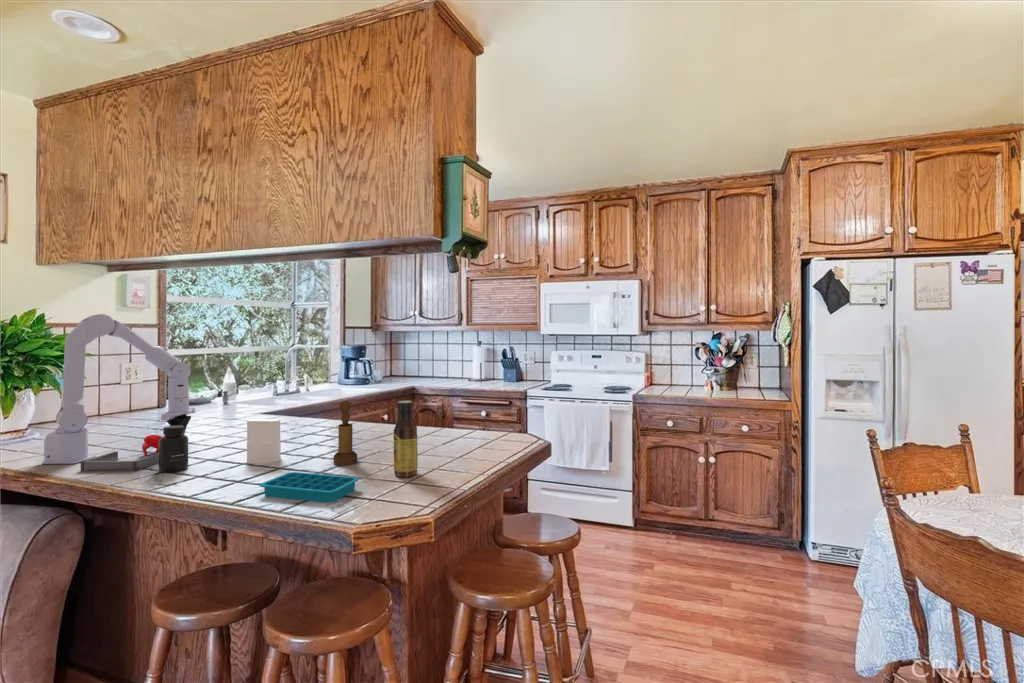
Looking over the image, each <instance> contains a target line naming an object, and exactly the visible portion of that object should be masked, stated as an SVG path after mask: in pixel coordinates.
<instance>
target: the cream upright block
mask: <svg viewBox="0 0 1024 683" xmlns="http://www.w3.org/2000/svg"><path fill="white" fill-rule="evenodd" d="M246 431H247V432H246V433H247V434H246V436H247V437H246V463H247V464H248V465H265V464H266V465H267V464H273V463H276V462H278V461H280V460H281V458H282V456H281V454H282V451H281V449H282V448H281V447H282V446H281V440H282V439H281V419H280V418H279V419H275V418H274V419H272V418H271V419H267V418H265V419H263V418H251V419H248V420H247V421H246Z"/></svg>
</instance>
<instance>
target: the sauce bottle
mask: <svg viewBox="0 0 1024 683" xmlns="http://www.w3.org/2000/svg"><path fill="white" fill-rule="evenodd" d="M413 407H414V402H413V400H400V401H397V408H398V410H397V420H396V423H395V426H394V429H393V470H394V471H393V472H394V475H395V476H396V477H398V478H399V477H400V478H412V477H414V476H415V475H418V474H417V473H418V464H419V463H418V459H419V458H418V426H417V423H416V421H415V420H414V419H413V416H414V415H413Z"/></svg>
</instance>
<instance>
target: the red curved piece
mask: <svg viewBox="0 0 1024 683" xmlns="http://www.w3.org/2000/svg"><path fill="white" fill-rule="evenodd" d="M162 437H163V436H161V435H158V434H148V435H147V436H145V437H144V439H143V441H144V442H143V444H142V445H141V450H142V452H143V454H144V455H143V456H145V457H148V456H149V455H148V452H147V450H148V449H149V448H154V449H155V454H156V453H159V440H160V439H161V438H162Z"/></svg>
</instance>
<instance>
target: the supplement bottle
mask: <svg viewBox="0 0 1024 683" xmlns="http://www.w3.org/2000/svg"><path fill="white" fill-rule="evenodd" d="M184 432H185V433H186V430H185V431H184V426H182V425H175V426H170V425H166V426H164V427H163V433H162V434H163V436H162V438H161V439H160V440H159V452H158V453H159V462H158V471H159V472H160V473H167V474H168V473H178V472H183V471H185V470H187V469H189V437H188V436H187V434H183V433H184Z"/></svg>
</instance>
